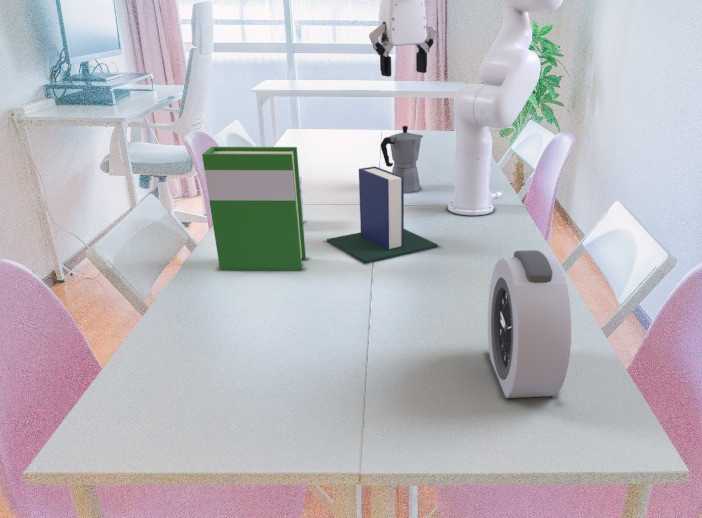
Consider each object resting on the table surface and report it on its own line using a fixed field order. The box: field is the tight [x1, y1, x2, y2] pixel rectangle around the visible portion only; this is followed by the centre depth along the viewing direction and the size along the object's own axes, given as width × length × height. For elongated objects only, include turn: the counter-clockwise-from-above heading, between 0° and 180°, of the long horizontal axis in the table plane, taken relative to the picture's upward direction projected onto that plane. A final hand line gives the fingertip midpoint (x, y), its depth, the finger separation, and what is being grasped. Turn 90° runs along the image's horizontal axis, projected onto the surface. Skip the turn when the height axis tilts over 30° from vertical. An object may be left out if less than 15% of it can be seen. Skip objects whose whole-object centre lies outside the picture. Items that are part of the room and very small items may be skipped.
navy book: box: [358, 166, 405, 250], centre depth 154 cm, size 4×12×16 cm, turn 34°
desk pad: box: [326, 228, 439, 264], centre depth 158 cm, size 20×18×1 cm
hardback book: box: [201, 146, 307, 271], centre depth 140 cm, size 18×7×24 cm, turn 90°
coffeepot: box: [380, 125, 424, 194], centre depth 196 cm, size 15×9×18 cm, turn 129°
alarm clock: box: [487, 249, 572, 399], centre depth 100 cm, size 21×8×20 cm, turn 5°
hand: (404, 74), depth 150 cm, fingers open, 9 cm apart
